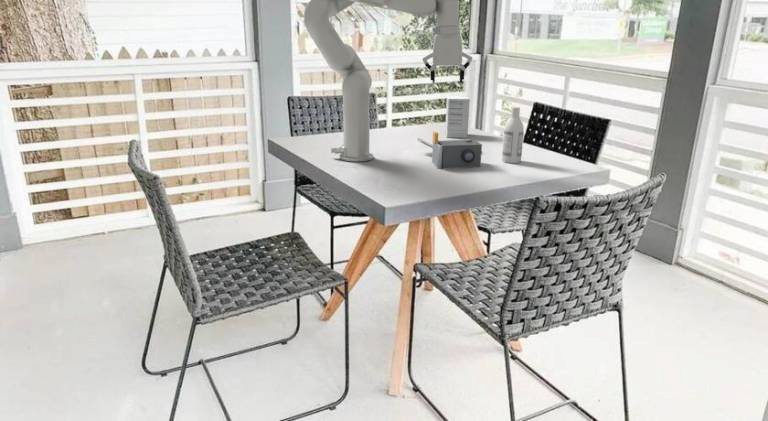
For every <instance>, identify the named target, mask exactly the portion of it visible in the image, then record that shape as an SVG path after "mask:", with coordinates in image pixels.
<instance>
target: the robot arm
mask: <svg viewBox="0 0 768 421" xmlns="http://www.w3.org/2000/svg"><path fill="white" fill-rule="evenodd" d="M355 3H358V4H362V5H367V6H369V7H370V6H372V7H376V8H379V9H384V10H392V11H397V12H402V13H407V14H411V15H414V16H419V17H423V18H427V17H429V16H436V26H435V27H433V28H432V29H431V30H432V33H435V34H436V35H434V37H433V43H432V46H433V47H432V52H431V53H429V54H428V55H426V56H424V57H423V58H422V62H423V64H424V65H425V67H426V68H427V70H429V71H430V81H432V83H433V84H434V83H435V82H436V81H435V79H436V77H435V76H436V75H435V74H436V73H435V69H436V68H437V66H438V67H439V66H441V67H444V66H445V67H446V66H447V67H448V66H449V67H450V66H452V67H453V66H458V67H459V68H460V70H459V82H460V83H463V80H465V70H466V69H467V68H468V67H469V66H470V65H471V62H472V60H473V57H472V56H471V55H468V54H467V53H466V52H463V42H462V36H461V35H459V32H460V31H459V30H460V29H459V28H460V27H459V26H460V24H459V22H460V21H459V20H460V19H459V18H460V13H459V12H460V11H459V10H460V0H308V1H307V2H306V5H305V8H304V12H303V14H304V15H303V19H304V26H305V28H306V31H307V33H308V34H309V35H310V37H311V39H312V40H313V43H314V44H315V45H316V48H317V49H318V51H319V52H320V54H321V55H322V57H323V59H325V61H326V63H327V64H328V67H329V68H330V69H332V70H333V71H335V72H337V73H338V74H339V76H340V77H341V79H342V83H341V84H342V85H341V93H342V94H341V95H342V111H343V112H342V117H343V118H342V119H343V144H341V146H339V147H331V148H330V153H332V154H335V155H336V154H339V155H338V156H339V159H341V160H342V161H347V162H355V163H359V162H360V163H361V162H369V161H371V160H373V159H374V154H373V153H372V152H370V90H371V89H372V88H371V87H372V82H373V81H372V77H371V74H370V72H369V71H368V69H367V68H366V66H365V65H364V63H363V62H362V60H361V58H360V57H359V55H358V54H357V52H356V51H355V49H354V48H353V47H352V46H351V45H349V44H348V43H345V42H344V41H343V40H342V38H341V37H340V35H339V34H338V32H337V30H336V29H335V27H334V26H333V25H332V23H331V21H330V18H332V17H334V16H336V15H337V14H340V12H342V11H344V10H346V9H347V8H349V7H350V6H352V5H353V4H355ZM463 58H465V59H466V60H467V61H466V62H465V63H464V64H463ZM430 59H432V65H430V64H429V62H428V60H430Z"/></svg>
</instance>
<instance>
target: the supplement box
mask: <svg viewBox="0 0 768 421" xmlns="http://www.w3.org/2000/svg"><path fill="white" fill-rule="evenodd" d="M470 102H471V101H470V98H469V97H468V96H465V95H462V96H461V95H459V96H458V95H457V96H456V95H447V96H446V108H445V109H446V111H445V130H444V131H445V132H444V133H445V136H446V138H455V139H456V138H459V139H462V138H463V139H468V136H469V134H468V133H469V132H468V131H469V120H470V119H469V116H470Z"/></svg>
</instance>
